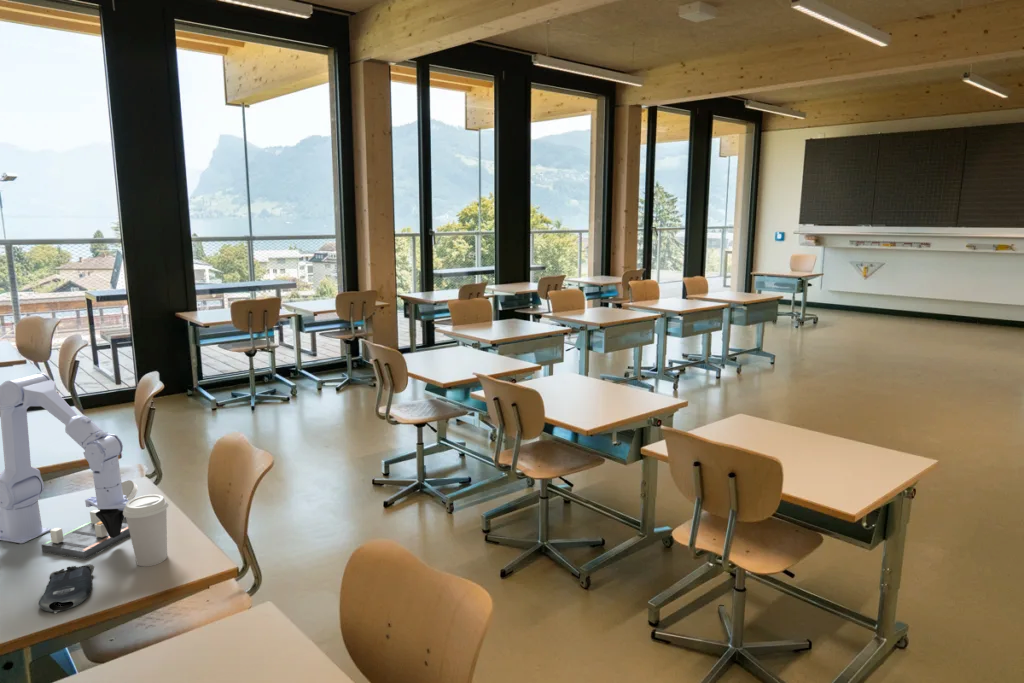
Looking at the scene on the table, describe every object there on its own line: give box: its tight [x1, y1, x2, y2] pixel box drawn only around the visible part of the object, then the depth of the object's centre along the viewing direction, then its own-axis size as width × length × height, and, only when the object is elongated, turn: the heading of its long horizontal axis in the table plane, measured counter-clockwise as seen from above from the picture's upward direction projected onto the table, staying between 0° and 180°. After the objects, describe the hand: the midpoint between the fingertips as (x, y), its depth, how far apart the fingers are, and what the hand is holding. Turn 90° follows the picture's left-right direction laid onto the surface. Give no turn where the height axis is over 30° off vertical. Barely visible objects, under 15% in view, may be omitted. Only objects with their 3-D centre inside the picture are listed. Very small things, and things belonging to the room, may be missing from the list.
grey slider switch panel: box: [40, 520, 131, 560], centre depth 171 cm, size 14×15×2 cm
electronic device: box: [38, 563, 95, 614], centre depth 147 cm, size 9×6×15 cm
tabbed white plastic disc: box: [97, 479, 139, 510], centre depth 189 cm, size 15×8×11 cm, turn 47°
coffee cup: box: [123, 493, 169, 567], centre depth 160 cm, size 10×10×15 cm
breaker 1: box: [49, 527, 64, 543], centre depth 167 cm, size 2×2×3 cm
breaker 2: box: [89, 509, 101, 524], centre depth 177 cm, size 2×2×3 cm
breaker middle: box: [95, 522, 108, 537], centre depth 169 cm, size 2×2×4 cm
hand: (115, 535), depth 168 cm, fingers closed
